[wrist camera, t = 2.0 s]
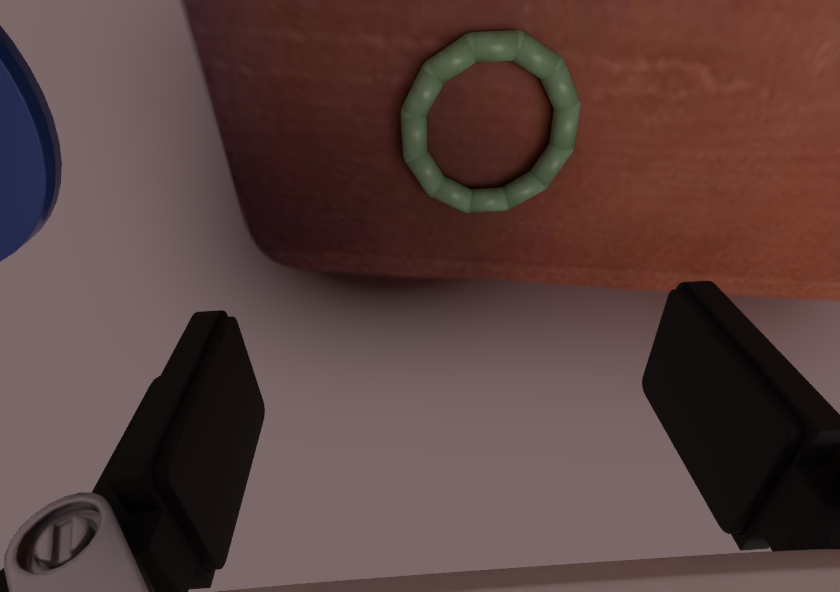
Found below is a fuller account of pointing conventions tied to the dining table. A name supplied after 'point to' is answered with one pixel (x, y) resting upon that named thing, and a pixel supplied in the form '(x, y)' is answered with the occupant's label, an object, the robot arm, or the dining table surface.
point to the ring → (454, 62)
